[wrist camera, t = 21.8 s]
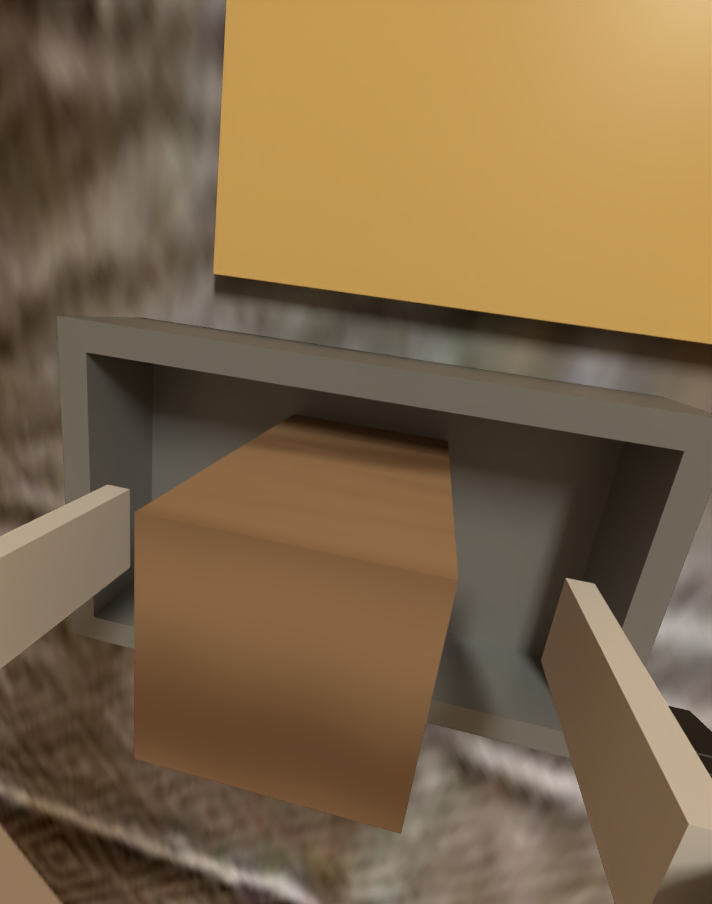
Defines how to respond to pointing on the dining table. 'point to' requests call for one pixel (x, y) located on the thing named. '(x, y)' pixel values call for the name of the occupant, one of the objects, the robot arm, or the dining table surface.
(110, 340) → the tub
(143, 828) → the dining table surface
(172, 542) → the walnut block
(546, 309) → the lid
